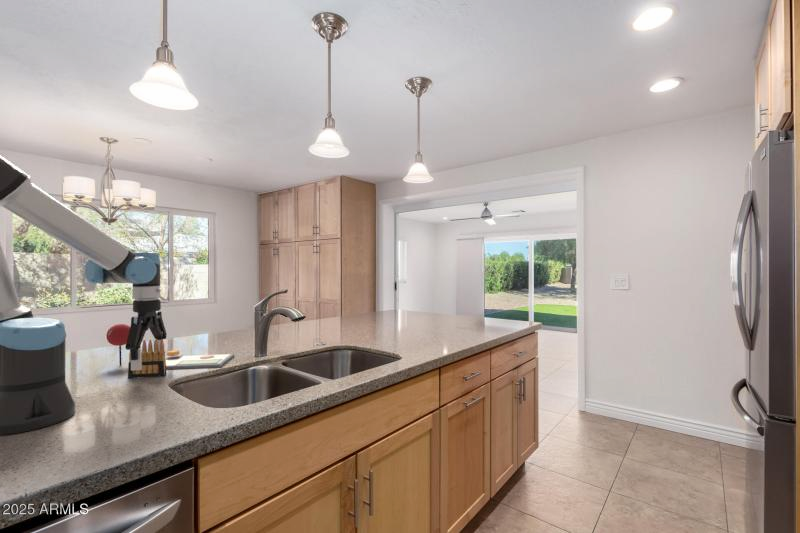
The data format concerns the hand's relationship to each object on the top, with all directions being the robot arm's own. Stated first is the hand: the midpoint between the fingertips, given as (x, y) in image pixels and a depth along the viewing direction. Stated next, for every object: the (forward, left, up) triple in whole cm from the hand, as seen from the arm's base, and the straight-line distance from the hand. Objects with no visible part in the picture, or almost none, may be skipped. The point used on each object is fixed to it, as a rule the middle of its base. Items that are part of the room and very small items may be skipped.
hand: (148, 364), depth 122 cm
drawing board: (+16, -7, -4) cm, 18 cm away
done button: (+20, +1, -2) cm, 20 cm away
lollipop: (+16, +17, -4) cm, 24 cm away
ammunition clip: (0, 0, -4) cm, 4 cm away
